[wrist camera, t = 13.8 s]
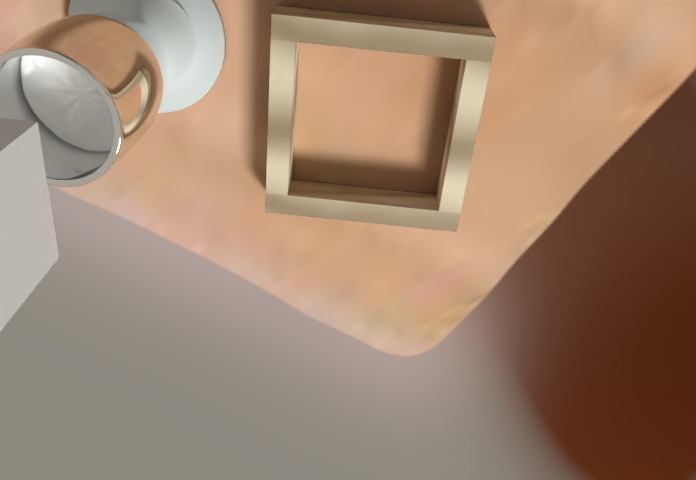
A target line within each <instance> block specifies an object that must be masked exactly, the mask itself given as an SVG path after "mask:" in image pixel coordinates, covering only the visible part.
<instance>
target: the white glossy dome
mask: <svg viewBox="0 0 696 480" xmlns="http://www.w3.org/2000/svg"><path fill="white" fill-rule="evenodd" d="M111 1H112V0H71V1H70V5H69V11H68V16H72V15H76V14H81V13H89V12H99V11H104V10H105V8H106V7H107V5H108V4H109V3H110V2H111ZM174 1H175V2H176V3H177V4H179V5H180V6H181V8H182V9H183V10H184V11H185V12H186V14H187V15H188V17H189V19H190V21H191V23H192V25H193V28H194V31H195V35H196V54H195V58H194V61H193V63H192V65H191V67H190V69H189V70H188V71H187V73H186V74H185V75H184V76H182V77H181V78H180V79H179V80H177V81H175V82H173V83H171V84H169V85H167V88H166V91H165V95H164V98H163V101H162V104H161V106H160V108H159V111H158V113H164V112H172V111H177V110H180V109H183V108H185V107H188V106H190V105H192V104H193V103H195V102H196V101H198V100H199V99H200V98H202V97H203V96H204V95H205V94H206V93H207V92H208V91H209V89H210V88H211V87H212V85H213V84H214V83H215V81H216V79H217V78H218V76H219V74H220V72H221V69H222V66H223V63H224V58H225V50H226V38H225V30H224V25H223V21H222V18H221V15H220V12H219V10H218V8H217V6H216V4H215V2H214V0H174Z"/></svg>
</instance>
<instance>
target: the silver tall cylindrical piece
mask: <svg viewBox="0 0 696 480" xmlns="http://www.w3.org/2000/svg"><path fill="white" fill-rule="evenodd" d="M195 54H196V35H195V31H194V28H193V25H192V23H191V21H190V19H189V17H188V15H187V14H186V12H185V11H184V10H183V9H182V8H181V6H180V5H179V4H177V3H176V2H175V1H174V0H112V1H111V2H110V3H109V4H108V5H107V7H106V8H105V10H104V11H99V12H89V13H81V14H76V15H72V16H67V17H63V18H60V19H57V20H55V21H53V22H50V23H48V24H46V25H44V26H41V27H39V28H38V29H36V30H34V31H33V32H31V33H30V34H28V35H26V36H25V37H23V38H22V39H21V40H19V41H18V42H17V43H15V44H14V45H13V46H11V47H10V48H9V49H8V50H6V51H5V52H4V53H2V54H0V118H4V119H14V120H24V121H33V122H38V128H39V134H40V140H41V147H42V153H43V160H44V166H45V172H46V179H47V185H51V186H58V187H73V186H80V185H84V184H87V183H90V182H92V181H94V180H96V179H98V178H99V177H101V176H102V175H104V174H105V173H106V172H107V171H108V170H109V169H110V168H111V166H112V165H114V164H115V163H116V162H117V161H118V160H120V159H121V158H122V157H123V156H124V155H125V154H126V153H127V152H129V151H130V150H131V149H132V148H133V146H134V145H135V144H136V143H137V142H138V141H139V140H140V139H141V138H142V137H143V135H144V134H145V133H146V131H147V130H148V128H149V127H150V126H151V124H152V123H153V121H154V119H155V117H156V115H157V113H158V111H159V108H160V106H161V104H162V101H163V98H164V95H165V91H166V88H167V85H169V84H171V83H173V82H175V81H177V80H179V79H180V78H181V77H182V76H184V75H185V74H186V73H187V71H188V70H189V69H190V67H191V65H192V63H193V61H194V58H195Z"/></svg>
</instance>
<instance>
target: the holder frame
mask: <svg viewBox="0 0 696 480" xmlns="http://www.w3.org/2000/svg"><path fill="white" fill-rule="evenodd" d="M495 41H496V36H495V35H494V33H493V31H492V30H491V28H487V27H478V26H468V25H459V24H449V23H440V22H430V21H421V20H411V19H402V18H393V17H383V16H374V15H364V14H355V13H345V12H336V11H326V10H317V9H307V8H298V7H289V6H279V5H277V6H276V8H275V9H274V11H273V12H272V14H271V45H270V76H269V107H268V139H267V170H266V201H265V212H268V213H278V214H288V215H297V216H307V217H317V218H327V219H336V220H346V221H356V222H365V223H375V224H385V225H394V226H404V227H414V228H423V229H433V230H443V231H452V232H457V227H458V222H459V217H460V212H461V208H462V203H463V198H464V193H465V188H466V183H467V178H468V173H469V168H470V164H471V159H472V154H473V149H474V144H475V139H476V134H477V129H478V124H479V120H480V115H481V110H482V105H483V100H484V95H485V90H486V85H487V80H488V76H489V71H490V66H491V61H492V56H493V51H494V46H495ZM299 42H301V43H311V44H320V45H330V46H339V47H349V48H358V49H368V50H377V51H387V52H396V53H406V54H415V55H425V56H434V57H444V58H453V59H461V60H460V66H459V71H458V77H457V82H456V88H455V93H454V99H453V105H452V110H451V116H450V121H449V127H448V132H447V138H446V143H445V149H444V155H443V160H442V166H441V171H440V177H439V182H438V188H437V193H436V195H434V194H425V193H415V192H405V191H396V190H386V189H377V188H367V187H357V186H348V185H338V184H328V183H319V182H309V181H299V180H292V165H293V147H294V128H295V110H296V91H297V73H298V54H299Z"/></svg>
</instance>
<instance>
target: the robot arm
mask: <svg viewBox="0 0 696 480" xmlns="http://www.w3.org/2000/svg"><path fill="white" fill-rule="evenodd" d="M58 258H59V255H58V249H57V243H56V236H55V231H54V224H53V217H52V211H51V204H50V198H49V192H48V185H47V179H46V172H45V166H44V160H43V153H42V147H41V140H40V134H39V128H38V122H33V121H24V120H14V119H4V118H0V331H1V330H2V329H3V327H4V326H5V325H6V324H7V322H8V321H9V320H10V318H11V317H12V316H13V315H14V313H15V312H16V311H17V310H18V308H19V307H20V306H21V305H22V303H23V302H24V301H25V300H26V298H27V297H28V296H29V294H30V293H31V292H32V291H33V289H34V288H35V287H36V286H37V284H38V283H39V282H40V280H41V279H42V278H43V277H44V275H45V274H46V273H47V272H48V270H49V269H50V268H51V267H52V265H53V264H54V263H55V262H56V260H57V259H58Z"/></svg>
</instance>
